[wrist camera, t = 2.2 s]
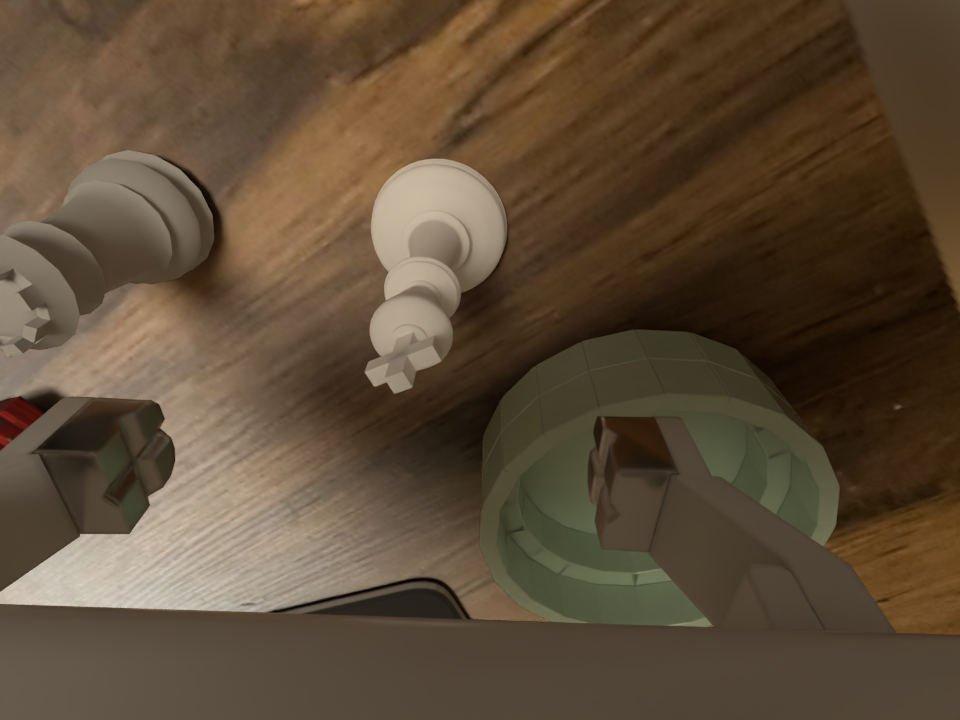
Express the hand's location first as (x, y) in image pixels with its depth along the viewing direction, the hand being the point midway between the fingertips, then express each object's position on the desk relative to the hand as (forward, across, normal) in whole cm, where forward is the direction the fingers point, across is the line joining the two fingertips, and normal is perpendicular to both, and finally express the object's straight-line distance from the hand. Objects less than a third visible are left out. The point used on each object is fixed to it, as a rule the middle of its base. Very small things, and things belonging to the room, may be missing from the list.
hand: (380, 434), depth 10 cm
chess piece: (+12, 0, 0) cm, 12 cm away
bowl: (+11, -9, +10) cm, 17 cm away
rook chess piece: (+12, +10, -1) cm, 15 cm away
